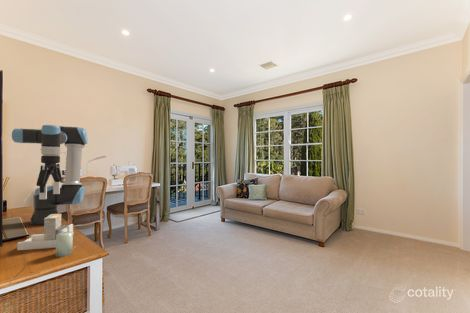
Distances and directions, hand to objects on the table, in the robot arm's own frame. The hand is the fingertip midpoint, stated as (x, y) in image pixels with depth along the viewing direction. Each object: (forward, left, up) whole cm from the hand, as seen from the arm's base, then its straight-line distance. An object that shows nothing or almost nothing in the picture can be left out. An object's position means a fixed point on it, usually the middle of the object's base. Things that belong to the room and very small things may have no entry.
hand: (50, 196), depth 116 cm
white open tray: (+5, +2, -23) cm, 23 cm away
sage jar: (+19, +15, -23) cm, 33 cm away
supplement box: (+5, +4, -22) cm, 23 cm away
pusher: (+5, +10, -22) cm, 24 cm away
